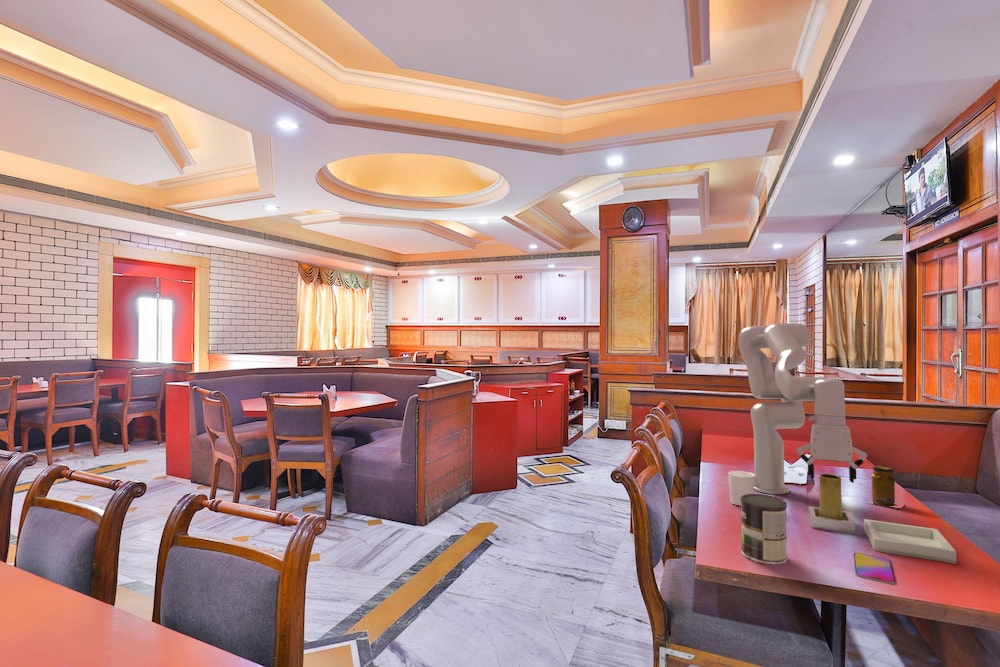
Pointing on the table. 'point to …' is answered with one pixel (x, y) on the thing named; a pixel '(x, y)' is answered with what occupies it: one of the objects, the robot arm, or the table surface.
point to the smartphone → (873, 568)
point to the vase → (830, 497)
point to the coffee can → (764, 528)
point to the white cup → (740, 485)
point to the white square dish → (832, 521)
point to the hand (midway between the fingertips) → (831, 479)
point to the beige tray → (909, 541)
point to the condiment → (883, 486)
